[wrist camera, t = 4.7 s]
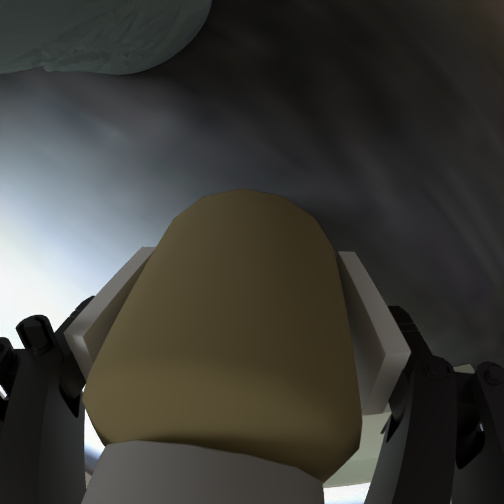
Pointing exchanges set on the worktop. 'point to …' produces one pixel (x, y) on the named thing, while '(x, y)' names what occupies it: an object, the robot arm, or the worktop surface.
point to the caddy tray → (369, 448)
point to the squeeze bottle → (228, 364)
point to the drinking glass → (96, 33)
